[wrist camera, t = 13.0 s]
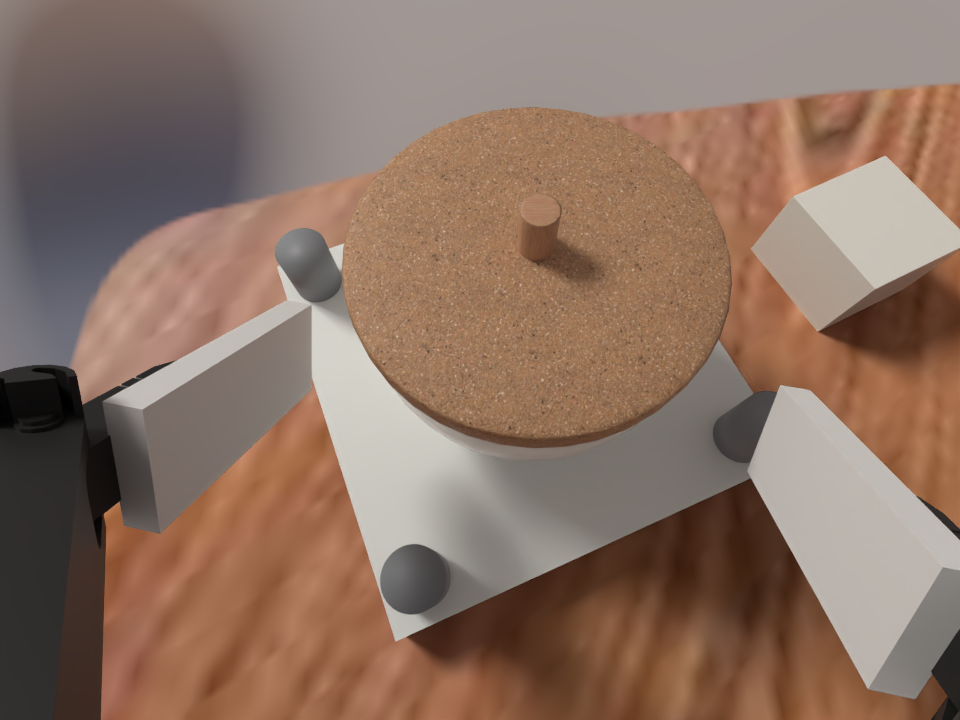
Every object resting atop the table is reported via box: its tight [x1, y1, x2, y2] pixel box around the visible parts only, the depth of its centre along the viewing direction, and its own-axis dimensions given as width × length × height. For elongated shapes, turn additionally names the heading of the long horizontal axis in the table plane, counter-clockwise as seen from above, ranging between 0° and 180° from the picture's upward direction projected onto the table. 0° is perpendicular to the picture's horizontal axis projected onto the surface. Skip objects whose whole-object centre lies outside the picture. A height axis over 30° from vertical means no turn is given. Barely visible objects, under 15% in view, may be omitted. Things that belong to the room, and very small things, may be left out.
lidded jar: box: [342, 107, 732, 462], centre depth 17 cm, size 11×11×9 cm
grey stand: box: [275, 228, 777, 641], centre depth 21 cm, size 16×16×4 cm
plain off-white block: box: [751, 156, 960, 332], centre depth 24 cm, size 5×5×4 cm
